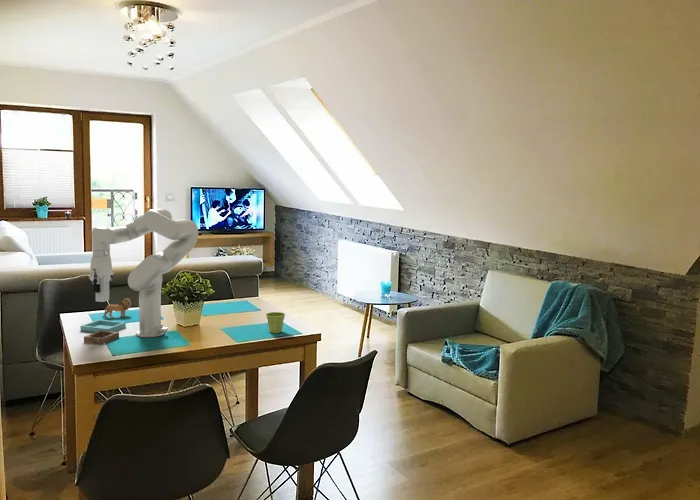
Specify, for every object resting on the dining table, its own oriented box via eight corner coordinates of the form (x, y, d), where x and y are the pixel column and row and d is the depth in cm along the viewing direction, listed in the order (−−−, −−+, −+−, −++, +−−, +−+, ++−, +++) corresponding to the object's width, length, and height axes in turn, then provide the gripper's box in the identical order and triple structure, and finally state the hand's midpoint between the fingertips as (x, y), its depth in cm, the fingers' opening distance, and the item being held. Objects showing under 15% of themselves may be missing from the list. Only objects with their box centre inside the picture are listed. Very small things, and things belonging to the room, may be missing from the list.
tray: (125, 327, 289) (125, 322, 289) (107, 334, 277) (107, 329, 276) (99, 324, 293) (99, 319, 293) (80, 331, 281) (80, 325, 280)
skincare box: (100, 299, 286) (100, 274, 285) (109, 299, 286) (109, 274, 285) (94, 301, 280) (95, 275, 279) (104, 301, 280) (104, 276, 279)
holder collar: (119, 337, 272) (118, 332, 271) (102, 344, 261) (101, 338, 261) (101, 335, 274) (101, 330, 274) (84, 342, 264) (83, 336, 263)
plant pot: (266, 334, 283) (267, 317, 282) (264, 329, 292) (264, 312, 291) (286, 334, 285) (286, 316, 284) (283, 328, 294) (283, 311, 293)
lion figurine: (129, 313, 316) (128, 297, 315) (133, 315, 312) (132, 298, 311) (100, 317, 306) (100, 300, 305) (104, 319, 302) (103, 302, 301)
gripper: (106, 250, 289) (107, 286, 292) (81, 255, 273) (82, 293, 275) (120, 251, 287) (121, 288, 290) (95, 256, 271) (96, 295, 273)
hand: (102, 290), depth 282 cm, fingers closed on skincare box, 7 cm apart
